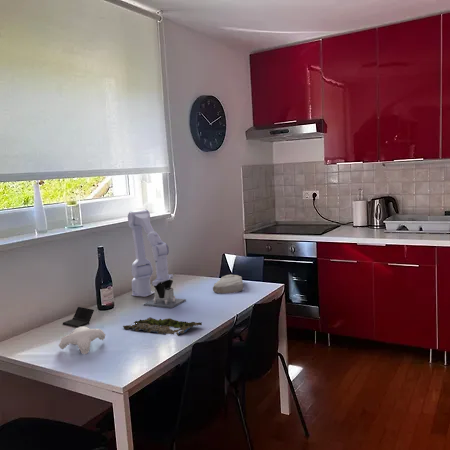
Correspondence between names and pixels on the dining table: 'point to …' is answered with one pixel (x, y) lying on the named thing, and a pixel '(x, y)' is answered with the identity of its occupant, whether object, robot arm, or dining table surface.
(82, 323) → the handheld gaming console
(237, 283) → the stone
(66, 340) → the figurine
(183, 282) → the dining table surface
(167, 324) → the miniature landscape
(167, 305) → the grey knobbed plate
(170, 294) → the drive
